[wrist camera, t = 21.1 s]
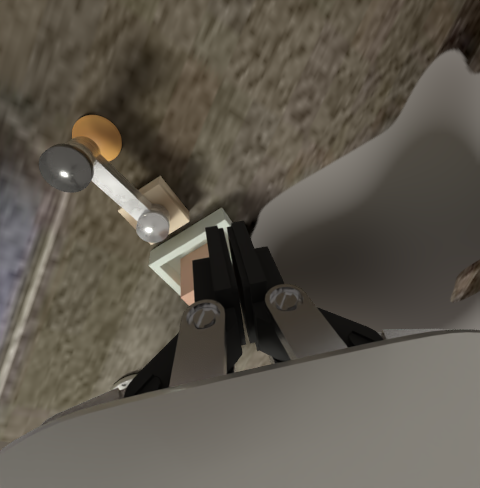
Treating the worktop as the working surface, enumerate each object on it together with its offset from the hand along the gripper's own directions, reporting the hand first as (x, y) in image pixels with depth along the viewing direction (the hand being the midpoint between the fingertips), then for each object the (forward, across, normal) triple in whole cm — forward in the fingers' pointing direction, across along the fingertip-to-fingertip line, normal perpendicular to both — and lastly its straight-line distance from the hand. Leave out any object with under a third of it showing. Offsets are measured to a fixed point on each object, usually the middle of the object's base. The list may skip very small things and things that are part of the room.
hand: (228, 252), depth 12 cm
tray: (+25, +2, +17) cm, 31 cm away
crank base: (+25, +9, +4) cm, 27 cm away
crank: (+22, +10, +4) cm, 24 cm away
